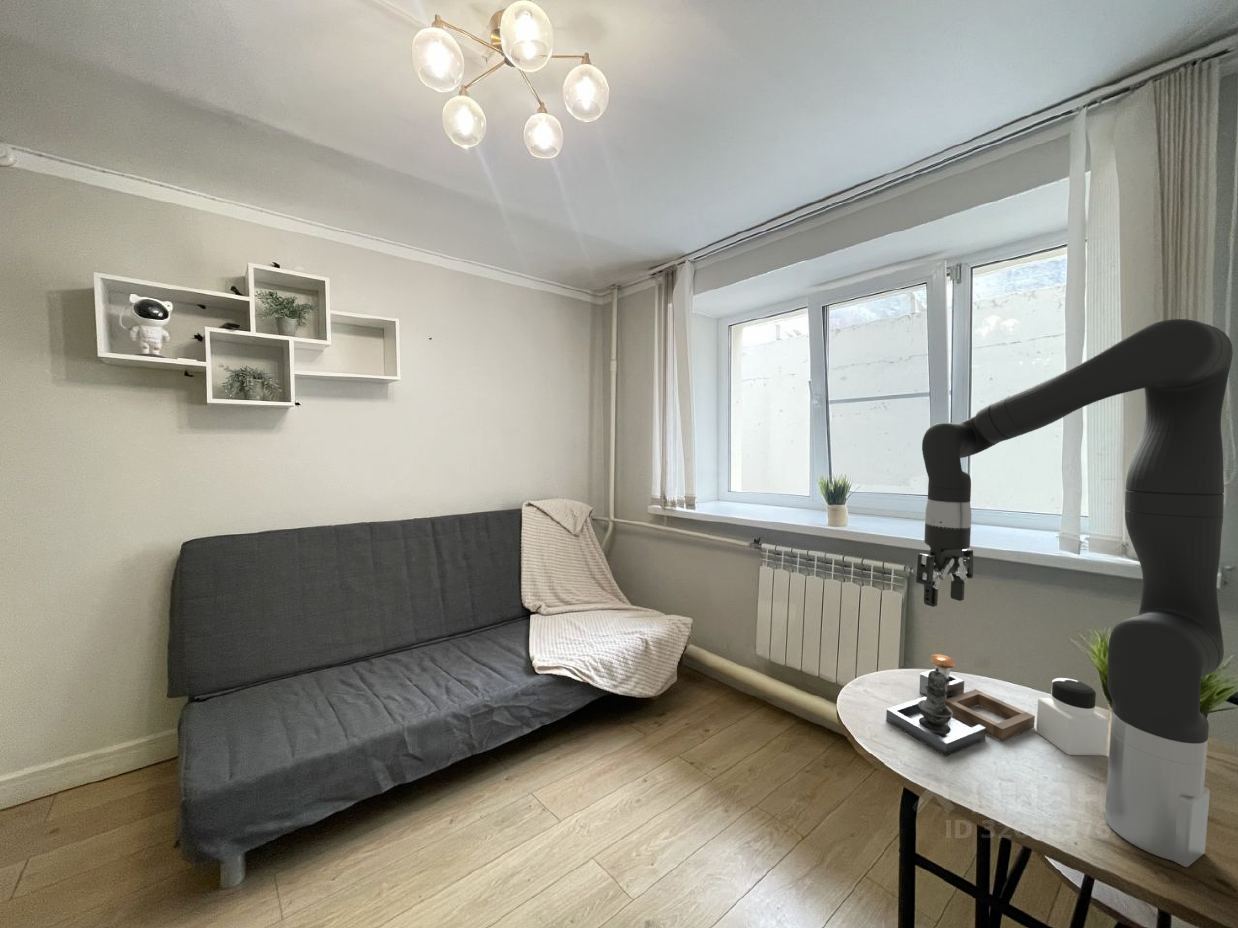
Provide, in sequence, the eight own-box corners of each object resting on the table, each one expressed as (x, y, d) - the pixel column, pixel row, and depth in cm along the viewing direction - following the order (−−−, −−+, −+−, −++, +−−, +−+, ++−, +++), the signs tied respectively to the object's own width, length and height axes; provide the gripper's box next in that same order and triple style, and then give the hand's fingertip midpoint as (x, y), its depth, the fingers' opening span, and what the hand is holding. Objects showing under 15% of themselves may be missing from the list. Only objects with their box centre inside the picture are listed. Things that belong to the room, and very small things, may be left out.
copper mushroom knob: (957, 691, 106) (959, 661, 106) (945, 695, 104) (946, 664, 104) (937, 681, 110) (939, 652, 110) (925, 685, 108) (926, 656, 108)
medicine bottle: (1107, 756, 87) (1111, 693, 87) (1068, 755, 88) (1072, 693, 87) (1071, 732, 95) (1075, 674, 94) (1035, 731, 95) (1038, 673, 94)
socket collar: (1034, 727, 96) (1034, 715, 96) (1001, 741, 92) (1002, 729, 91) (975, 699, 106) (975, 689, 106) (943, 711, 102) (944, 699, 101)
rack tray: (985, 740, 92) (986, 727, 92) (945, 756, 87) (946, 743, 87) (924, 707, 103) (924, 696, 103) (886, 720, 98) (886, 708, 98)
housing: (963, 699, 106) (964, 680, 106) (946, 705, 103) (947, 686, 103) (936, 686, 111) (937, 668, 111) (919, 692, 109) (920, 673, 109)
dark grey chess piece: (916, 713, 99) (919, 657, 98) (950, 722, 96) (953, 664, 95) (917, 728, 94) (920, 669, 93) (953, 738, 91) (956, 677, 90)
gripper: (944, 529, 88) (940, 614, 89) (989, 523, 94) (985, 603, 95) (905, 522, 95) (902, 601, 96) (950, 517, 101) (946, 592, 102)
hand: (944, 602), depth 95 cm, fingers open, 8 cm apart
